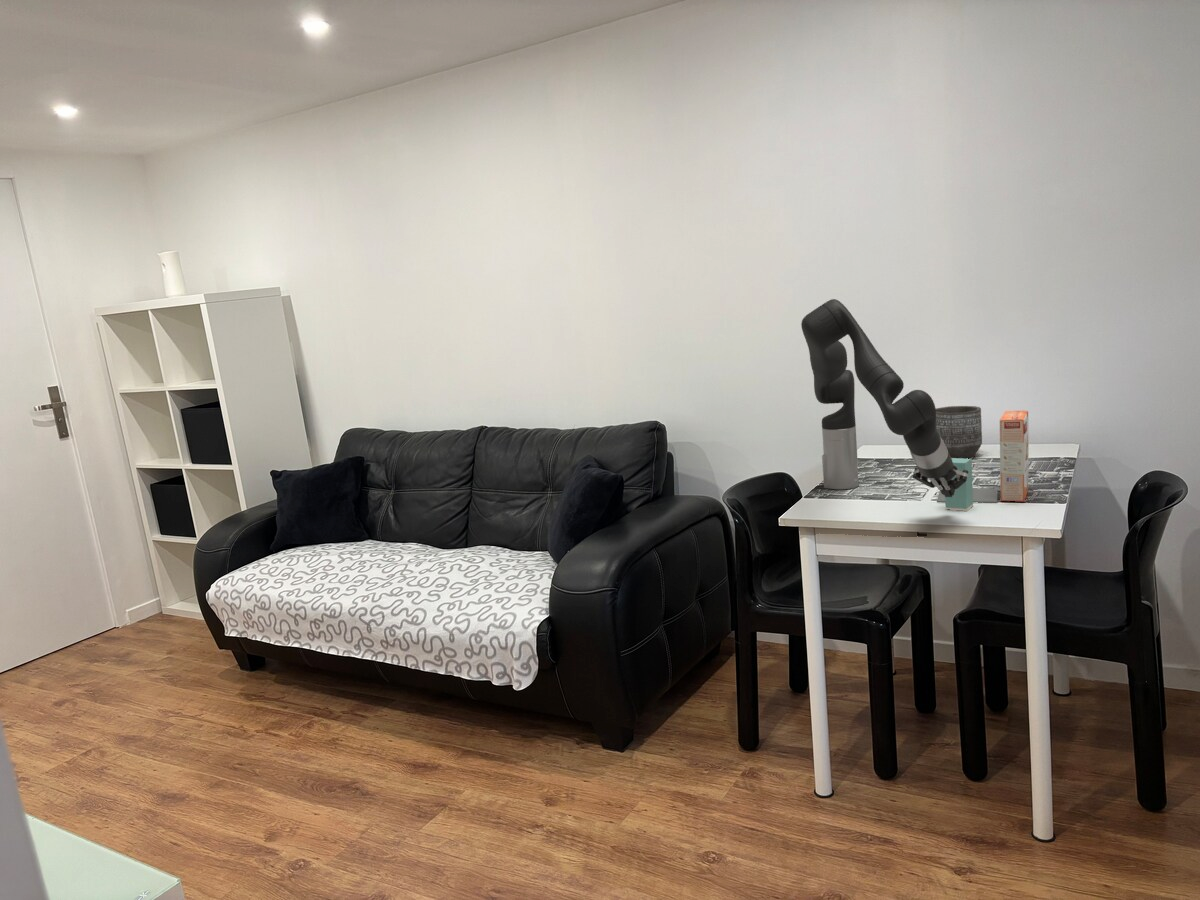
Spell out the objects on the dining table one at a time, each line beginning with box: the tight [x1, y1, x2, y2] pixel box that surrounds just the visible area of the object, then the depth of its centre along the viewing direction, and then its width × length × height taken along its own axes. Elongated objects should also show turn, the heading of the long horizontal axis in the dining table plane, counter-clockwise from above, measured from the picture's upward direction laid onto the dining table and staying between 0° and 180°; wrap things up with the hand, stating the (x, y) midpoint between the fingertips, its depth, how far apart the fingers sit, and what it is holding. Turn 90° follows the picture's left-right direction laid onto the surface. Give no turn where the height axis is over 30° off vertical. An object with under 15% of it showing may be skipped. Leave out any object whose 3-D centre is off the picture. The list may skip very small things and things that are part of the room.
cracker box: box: [999, 410, 1029, 503], centre depth 219 cm, size 14×6×21 cm, turn 151°
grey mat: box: [936, 488, 999, 504], centre depth 224 cm, size 14×13×1 cm
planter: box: [935, 405, 983, 459], centre depth 270 cm, size 14×14×15 cm
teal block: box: [944, 458, 974, 512], centre depth 214 cm, size 5×5×12 cm
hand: (949, 493), depth 208 cm, fingers closed
